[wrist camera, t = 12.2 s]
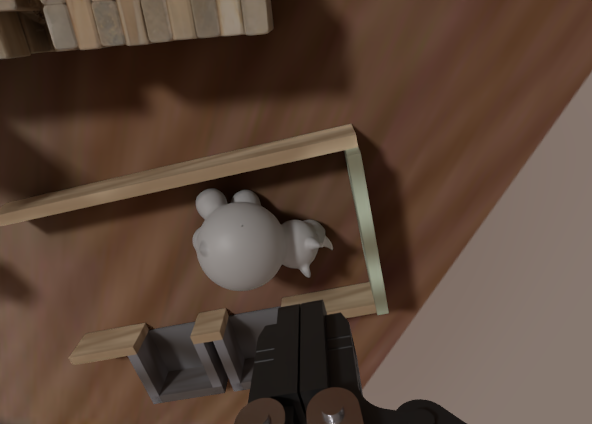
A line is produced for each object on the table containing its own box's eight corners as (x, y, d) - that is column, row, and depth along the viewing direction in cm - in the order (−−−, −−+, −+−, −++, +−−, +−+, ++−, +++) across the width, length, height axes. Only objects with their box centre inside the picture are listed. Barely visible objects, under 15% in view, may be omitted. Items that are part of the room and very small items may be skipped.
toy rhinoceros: (301, 248, 42) (336, 304, 35) (183, 247, 37) (197, 312, 30) (320, 186, 39) (362, 234, 32) (193, 176, 34) (211, 230, 27)
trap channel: (8, 202, 37) (-33, 227, 33) (351, 123, 34) (358, 139, 29) (116, 385, 47) (96, 424, 43) (390, 340, 43) (400, 377, 39)
